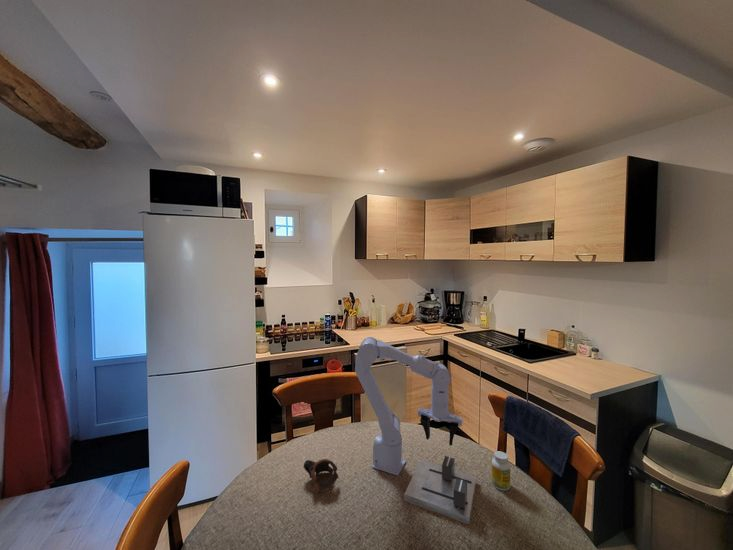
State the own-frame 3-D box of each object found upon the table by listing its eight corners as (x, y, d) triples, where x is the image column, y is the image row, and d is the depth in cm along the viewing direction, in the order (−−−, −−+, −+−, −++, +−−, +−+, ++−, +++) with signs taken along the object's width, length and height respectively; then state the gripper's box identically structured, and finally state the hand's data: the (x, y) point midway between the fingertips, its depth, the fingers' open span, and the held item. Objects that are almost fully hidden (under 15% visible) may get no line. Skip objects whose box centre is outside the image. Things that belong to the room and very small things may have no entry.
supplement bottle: (497, 476, 96) (498, 447, 96) (513, 486, 92) (514, 456, 92) (487, 483, 93) (488, 453, 93) (503, 494, 89) (504, 462, 89)
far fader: (441, 478, 92) (442, 464, 92) (445, 468, 97) (445, 455, 96) (451, 481, 91) (451, 467, 91) (454, 471, 95) (454, 458, 95)
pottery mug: (341, 474, 97) (343, 461, 93) (329, 506, 90) (330, 493, 85) (309, 459, 100) (309, 446, 96) (294, 488, 93) (294, 475, 88)
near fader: (453, 504, 82) (453, 489, 82) (456, 492, 86) (456, 478, 86) (464, 508, 80) (464, 493, 80) (467, 495, 85) (467, 481, 85)
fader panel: (404, 500, 86) (404, 493, 86) (420, 465, 101) (420, 459, 101) (469, 524, 78) (469, 517, 78) (476, 482, 93) (476, 476, 93)
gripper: (415, 401, 99) (415, 441, 99) (460, 411, 93) (459, 453, 93) (421, 393, 105) (420, 430, 106) (463, 401, 99) (462, 441, 99)
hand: (439, 440), depth 100 cm, fingers open, 7 cm apart
